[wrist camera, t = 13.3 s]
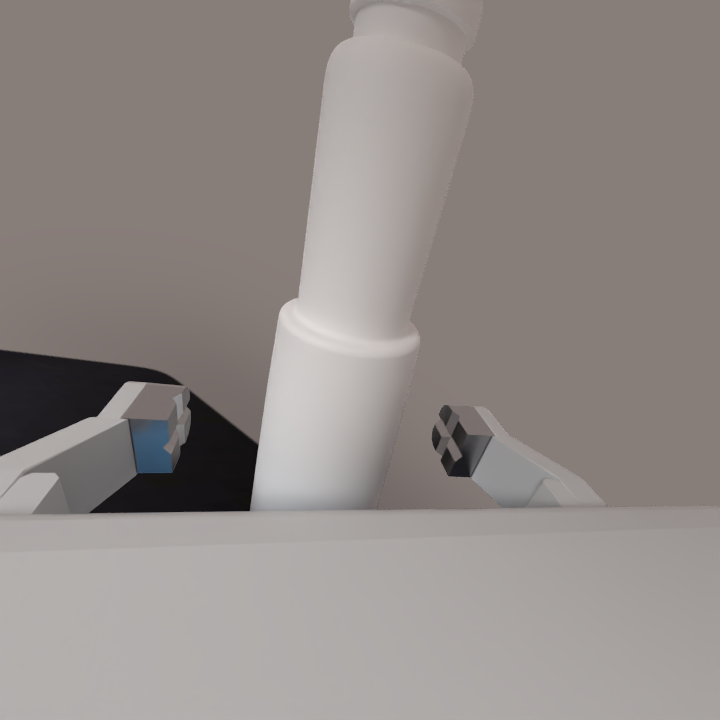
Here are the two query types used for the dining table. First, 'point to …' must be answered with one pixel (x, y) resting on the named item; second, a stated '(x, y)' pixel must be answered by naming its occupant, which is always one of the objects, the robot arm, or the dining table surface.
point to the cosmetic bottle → (365, 253)
